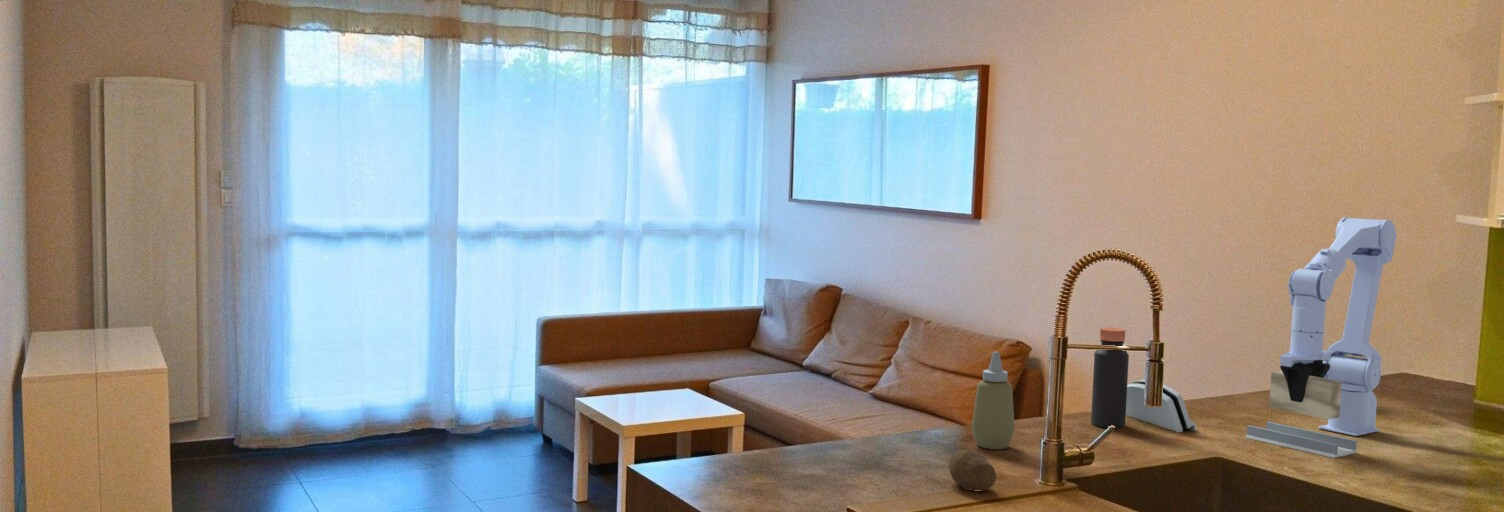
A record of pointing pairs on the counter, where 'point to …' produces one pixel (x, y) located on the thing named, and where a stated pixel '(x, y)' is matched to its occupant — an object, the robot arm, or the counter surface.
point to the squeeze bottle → (993, 408)
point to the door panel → (1307, 397)
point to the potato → (972, 470)
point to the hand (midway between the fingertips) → (1302, 400)
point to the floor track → (1303, 439)
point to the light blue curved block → (1158, 408)
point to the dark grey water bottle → (1110, 381)
